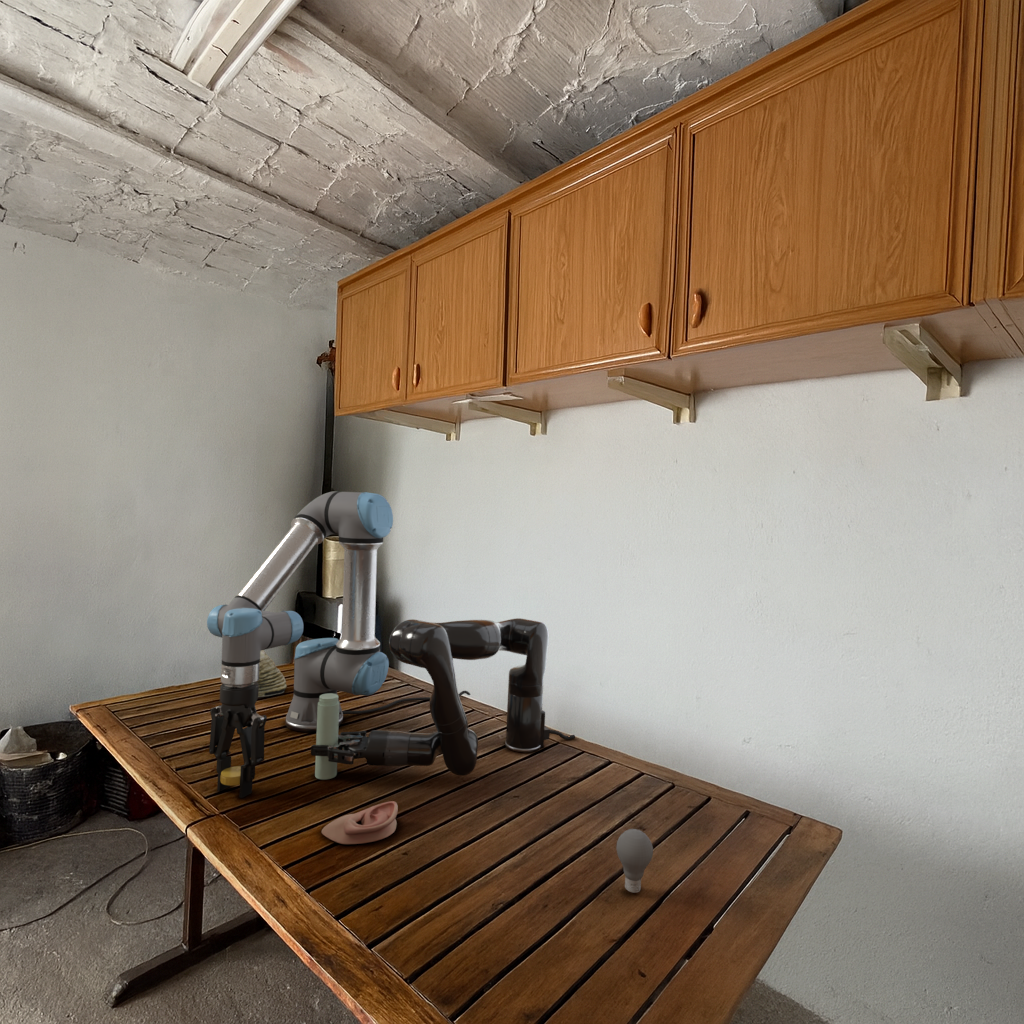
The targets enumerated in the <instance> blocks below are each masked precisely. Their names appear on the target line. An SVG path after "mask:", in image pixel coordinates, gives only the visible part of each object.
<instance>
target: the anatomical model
mask: <svg viewBox="0 0 1024 1024" xmlns="http://www.w3.org/2000/svg"><path fill="white" fill-rule="evenodd" d="M398 809H399V806H398V803H397V802H396V801H393V800H392V801H391V800H390V801H385V802H381V803H378V804H376V805H372V806H370V807H368V808H365V809H363V810H360V811H358V812H355V813H350V814H344V815H342V816H340V817H338V818H336V819H334V820H332V821H331V822H329V823H327V824H326V825H325V826H323V828H322V829H321V834H322V835H323V836H324V837H325V838H327V839H328V840H331V841H333V842H335V843H337V844H341V845H357V844H358V845H359V844H367V843H372V842H377V841H380V840H384V839H385V838H388V837H389V836H391V835H392V834H393V833H395V831H396V829H397V826H398V823H397V820H396V819H397V815H398V812H399V811H398Z"/></svg>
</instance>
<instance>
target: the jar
mask: <svg viewBox="0 0 1024 1024" xmlns="http://www.w3.org/2000/svg"><path fill="white" fill-rule="evenodd" d="M339 698H340V697H339V695H338V693H337V694H333V693H328V694H322V695H320V697H319V702H318V709H317V732H316V734H315V735H316V736H315V745H329V746H330V745H338V735H339V726H340V725H339V702H340V700H339V701H338V699H339ZM334 754H335V753H334ZM337 775H338V763H336V762H329V761H328V756H315V764H314V776H315V778H316V779H318V780H324V781H325V780H330V779H334V778H335V777H337Z"/></svg>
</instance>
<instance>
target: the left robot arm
mask: <svg viewBox="0 0 1024 1024" xmlns="http://www.w3.org/2000/svg"><path fill="white" fill-rule="evenodd" d="M393 514H394V513H393V509H392V507H391V505H390V502H388V500H387V498H385V496H383V495H382V494H379V493H374V492H369V491H365V492H363V491H362V492H360V491H359V492H358V491H357V492H356V491H340V490H336V491H335V490H333V491H329V492H326V493H323V494H320V495H318V496H317V497H316V498H313V500H311V501H310V502H308V503H307V504H306V505H305V506H304V507H303V508H302V509H301V510H299V512H298V513H297V514H296V515H295V516H294V518H293V519H292V520H291V522H290V529H289V530H288V531H287V532H286V533H285V534H284V536H283V537H282V538H281V540H279V542H278V543H277V544H276V546H275V547H274V548H273V550H272V551H271V552H270V553H269V555H268V556H267V557H265V559H264V560H263V562H261V564H260V565H259V567H258V568H257V569H256V570H255V571H254V573H253V574H252V575H251V576H250V577H249V579H248V580H247V581H246V583H245V584H244V585H243V586H242V588H241V589H240V590H239V591H238V592H237V593H236V595H234V598H232V600H231V601H230V602H229V603H228V604H220V605H216V606H215V607H213V608H212V609H211V610H210V612H209V613H208V616H207V619H206V627H207V630H208V631H209V633H210V634H211V635H213V636H215V637H217V638H221V664H220V667H221V668H220V669H221V670H220V683H221V685H220V687H219V702H220V704H221V705H218V706H214V707H211V708H210V710H209V711H210V718H211V722H210V734H209V735H210V737H209V749H208V753H209V754H210V755H214V756H215V759H216V773H217V787H216V790H217V792H222V791H224V790H226V789H228V788H230V787H231V786H230V785H224V784H222V783H221V781H220V775H221V772H222V771H223V770H225V769H227V768H230V767H232V755H231V754H232V752H231V751H230V749H231V746H232V742H233V739H234V735H235V731H236V733H237V734H238V736H239V740H240V741H239V742H240V747H241V752H242V759H243V764H242V765H240V766H241V773H240V784H239V794H238V795H239V796H238V797H239V798H240V799H243V798H245V797H247V796H249V795H251V794H252V793H253V780H255V777H256V765H258V764H260V763H263V762H264V761H265V732H266V731H265V727H266V723H267V719H268V717H267V715H266V714H263V715H260V714H259V713H258V712H257V709H256V703H257V701H258V699H259V697H258V689H259V684H258V683H257V681H258V680H259V665H260V651H261V650H264V651H265V650H269V649H273V648H277V647H282V646H288V645H290V644H292V643H295V642H297V641H298V640H299V639H300V638H301V637H302V636H303V633H304V621H303V618H302V617H301V615H300V614H299V613H298V612H296V611H294V610H281V611H270V610H269V611H267V610H266V609H268V607H269V606H270V604H271V603H272V602H273V601H274V599H275V598H276V596H277V595H278V594H279V592H280V591H281V590H282V589H283V587H284V586H285V585H286V584H287V582H288V581H289V579H290V578H291V577H292V576H293V574H294V573H295V572H296V571H297V569H298V568H299V567H300V565H301V564H302V563H303V561H304V560H305V558H307V556H308V555H309V553H310V552H311V551H312V549H313V548H314V547H315V546H316V545H319V544H322V543H323V542H324V541H325V539H326V538H327V537H329V536H330V535H338V543H339V545H341V547H342V548H343V549H344V553H343V584H342V585H343V587H342V621H341V623H342V624H341V638H340V639H339V638H336V637H322V638H313V639H307V640H304V641H302V642H299V643H298V644H297V645H296V647H295V652H294V653H295V654H294V657H293V659H294V660H293V662H294V663H293V665H294V667H293V695H292V696H293V697H292V699H291V702H290V704H289V708H288V711H287V713H286V715H285V726H286V728H287V729H289V730H291V731H294V732H295V731H296V732H301V733H317V709H318V702H319V697H320V695H322V694H328V693H333V694H337V695H338V692H343V693H347V694H352V695H353V696H372V695H374V694H376V693H377V692H378V691H379V690H380V689H381V687H382V686H383V684H384V683H385V681H386V679H387V676H388V672H389V668H390V667H389V665H390V661H389V658H388V656H387V654H385V653H384V652H382V651H381V642H380V641H379V640H378V638H376V634H375V633H376V608H377V607H376V604H377V603H376V602H377V567H378V549H379V548H380V547H381V546H382V545H384V538H386V537H387V536H388V535H389V534H390V532H391V529H392V528H393V525H394V515H393ZM458 694H459V697H460V698H461V696H463V695H464V694H466V695H467V696H470V695H471V692H469V691H468V690H462V691H460V692H458ZM430 698H431V696H421V697H420V696H419V697H407V698H402V699H396V700H394V701H392V702H390V703H388V704H385V705H383V706H380V707H374V708H369V709H362V710H343V709H342V706H341V702H340V699H339V698H338V701H339V726H340V725H342V723H343V722H344V715H362V714H369V713H374V712H378V711H383V710H385V709H388V708H390V707H392V706H394V705H397V704H400V703H404V702H413V701H414V702H415V701H430Z"/></svg>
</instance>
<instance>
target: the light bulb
mask: <svg viewBox="0 0 1024 1024" xmlns="http://www.w3.org/2000/svg"><path fill="white" fill-rule="evenodd" d="M615 849H616V854H617V857H618V859H619V861H620V863H621V865H622V867H623V873H624V874H623V875H624V876H625V878H624V888H625V890H627V891H628V892H630V893H634V894H635V893H639V892H640V891H641V889H642V887H641V886H642V879H643V877H644V875H645V871H646V868H647V867H648V866H649V864H650V863H651V861H652V859H653V855H654V847H653V843H652V841H651V838H649V836H648V835H647V834H646V833H645V832H643V831H642V830H641V829H636V828H629V829H627V830H625V831H623V832H622V833H621V834H620V835H619V837H618V839H617V841H616V847H615Z"/></svg>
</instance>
